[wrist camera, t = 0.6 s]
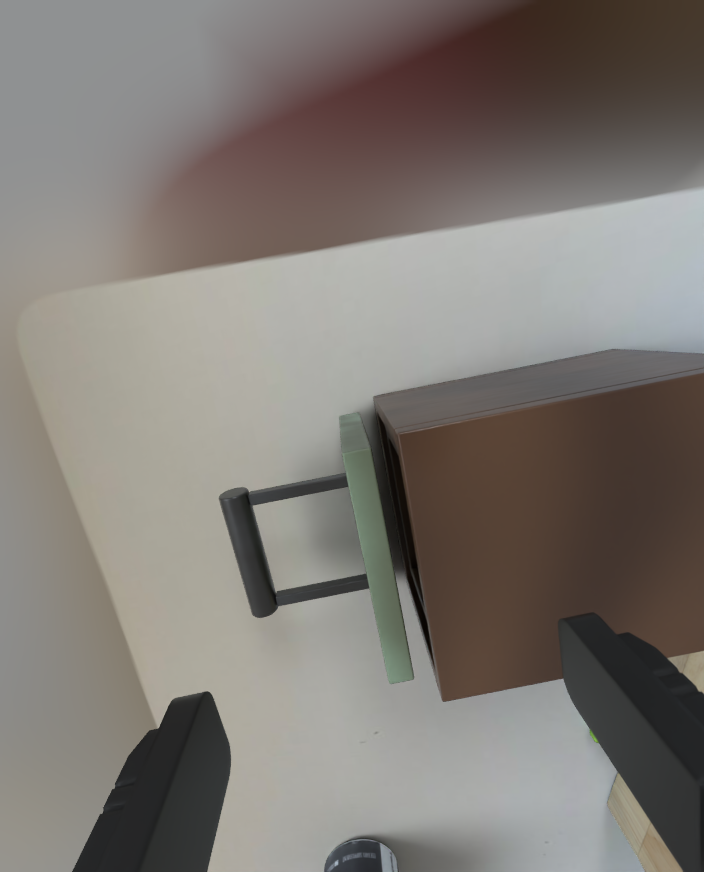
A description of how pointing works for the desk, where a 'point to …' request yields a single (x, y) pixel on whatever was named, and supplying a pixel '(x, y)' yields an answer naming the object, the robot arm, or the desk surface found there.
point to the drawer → (370, 535)
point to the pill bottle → (361, 858)
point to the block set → (627, 810)
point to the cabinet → (551, 510)
